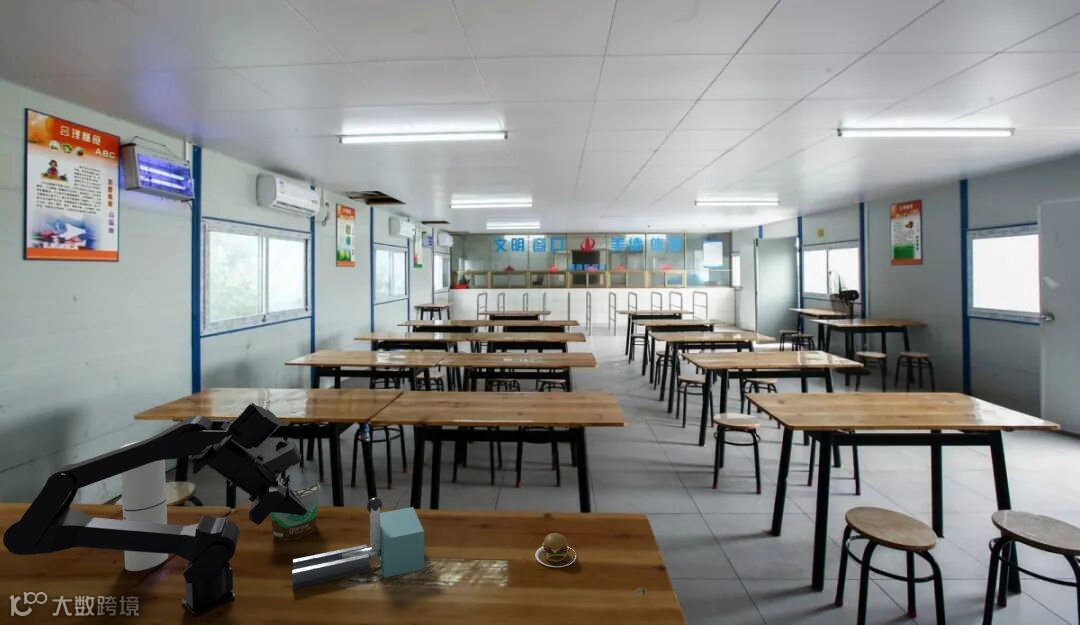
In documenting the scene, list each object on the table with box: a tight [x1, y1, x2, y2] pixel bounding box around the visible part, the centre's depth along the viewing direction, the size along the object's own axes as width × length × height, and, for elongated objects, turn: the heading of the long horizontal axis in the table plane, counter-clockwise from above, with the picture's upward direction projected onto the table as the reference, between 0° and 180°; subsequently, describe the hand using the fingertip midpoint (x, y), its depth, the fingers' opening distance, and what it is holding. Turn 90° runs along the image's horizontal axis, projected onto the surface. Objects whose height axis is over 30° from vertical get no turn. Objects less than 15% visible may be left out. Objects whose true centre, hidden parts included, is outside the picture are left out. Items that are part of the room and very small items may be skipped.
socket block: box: [378, 506, 425, 579], centre depth 105 cm, size 8×12×8 cm, turn 25°
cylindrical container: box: [120, 440, 169, 572], centre depth 103 cm, size 7×7×25 cm
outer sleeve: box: [292, 544, 370, 590], centre depth 100 cm, size 14×5×3 cm, turn 115°
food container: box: [269, 481, 322, 541], centre depth 115 cm, size 12×6×10 cm, turn 143°
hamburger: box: [534, 532, 577, 568], centre depth 107 cm, size 12×12×6 cm
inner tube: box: [342, 496, 384, 560], centre depth 103 cm, size 12×3×13 cm, turn 115°
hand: (305, 512), depth 97 cm, fingers closed
